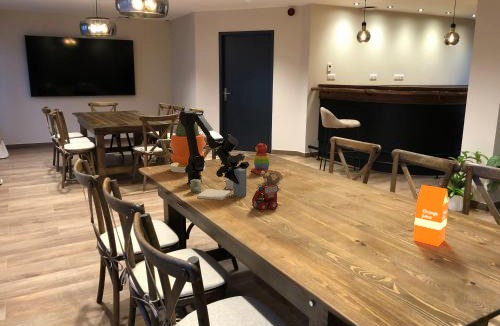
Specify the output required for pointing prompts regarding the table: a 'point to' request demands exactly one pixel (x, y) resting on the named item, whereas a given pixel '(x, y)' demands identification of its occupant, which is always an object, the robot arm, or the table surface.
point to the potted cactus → (183, 147)
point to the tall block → (240, 183)
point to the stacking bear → (261, 159)
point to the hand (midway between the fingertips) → (241, 183)
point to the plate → (214, 194)
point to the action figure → (271, 177)
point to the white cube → (229, 184)
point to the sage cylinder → (195, 186)
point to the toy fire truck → (265, 198)
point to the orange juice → (431, 215)
